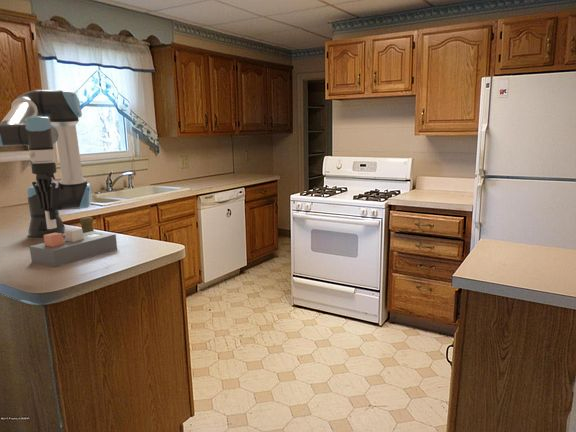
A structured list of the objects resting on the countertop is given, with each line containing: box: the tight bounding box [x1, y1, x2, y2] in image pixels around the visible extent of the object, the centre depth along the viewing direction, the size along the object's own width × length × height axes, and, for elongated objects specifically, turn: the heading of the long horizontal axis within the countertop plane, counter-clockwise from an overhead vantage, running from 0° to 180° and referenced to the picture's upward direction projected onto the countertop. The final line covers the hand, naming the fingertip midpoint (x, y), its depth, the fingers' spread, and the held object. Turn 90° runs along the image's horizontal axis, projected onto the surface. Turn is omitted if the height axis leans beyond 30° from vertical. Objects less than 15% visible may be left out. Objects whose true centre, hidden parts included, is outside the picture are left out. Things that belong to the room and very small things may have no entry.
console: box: [29, 230, 118, 268], centre depth 163 cm, size 14×26×6 cm, turn 151°
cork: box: [79, 216, 94, 233], centre depth 182 cm, size 6×6×11 cm
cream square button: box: [86, 234, 100, 237], centre depth 170 cm, size 4×4×4 cm
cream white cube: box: [64, 227, 83, 242], centre depth 162 cm, size 4×4×4 cm
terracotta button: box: [43, 233, 64, 247], centre depth 155 cm, size 4×4×4 cm
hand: (52, 228), depth 154 cm, fingers closed
